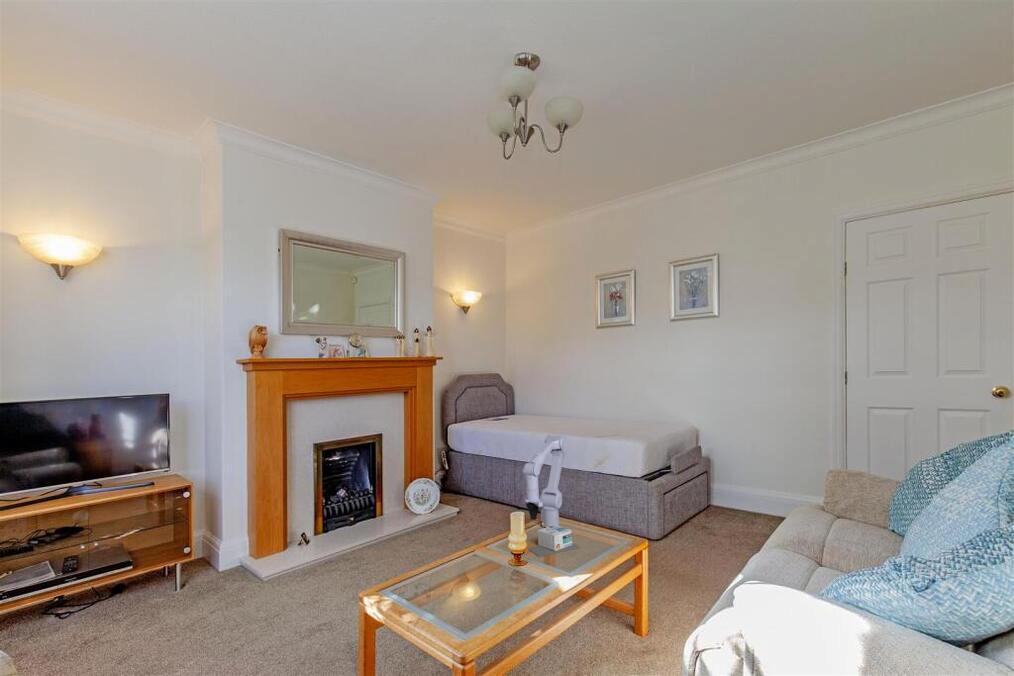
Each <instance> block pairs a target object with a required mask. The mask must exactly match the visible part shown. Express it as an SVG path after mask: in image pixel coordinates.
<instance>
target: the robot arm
mask: <svg viewBox="0 0 1014 676" xmlns="http://www.w3.org/2000/svg"><path fill="white" fill-rule="evenodd" d="M567 447H568V441H567V438H566V436H558V435H557V436H556V435H547V436H546V438H545V440H544V445H543V446H542V448H541V450H540V451H539V452H536V453H535V454H534V456H533V457H532V458H531V459H530V461H529V462H526V463H525V464H524V465H523V469H522V473H523V475H524V480H525V488H526V491H525V492H526V495H524V496H523V501H524V502H526V503H525V506H526V508H527V510H528V513H529V517H530V520H532V521H533V520H537V517H538V513H539V512H538V511H539V509H540V508H541V507H542V508H541V511H540V522H541V521H543V523H544V524H545V526H546V527H549V526H553V525H557V526H559V525H560V513H559V511H560V510H559V509H561V507H562V504H563V494H562V493H563V492H561V491H560V489H559V484H560V480H561V473H562V470H563V469H562V468H563V462H564V457H565V456H564V455H566V454H567V449H568V448H567ZM549 454H551V455H552V456H553V457H552V462H551V468H550V473H549V478H548V483H547V487H545V488H544V489H542V491H541V492H542V493H541V495H539V494H540V493H539V489H540V488H539V475H540V473H541V470H542V466H543V465H544V464H545V463H546V460H547V456H548V455H549Z"/></svg>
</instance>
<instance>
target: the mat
mask: <svg viewBox="0 0 1014 676" xmlns="http://www.w3.org/2000/svg"><path fill="white" fill-rule="evenodd" d="M527 548H528V549H529V551H530V552H532V553H533V554H535V555H536V556H537V557H539V558H541V557H545V556H549V555H553V554H554V555H555V554H559V553H562V552H568V551H571V550H572V551H573V550H575V549H581V547H580V546H579V545H577V544H576V543H574V542H572V545H571V546H569V547H566V548H563V549H560V550H557V551H554V550H551V549H548V548H546V547H543V546H540V545H537V546H536V545H535V546H531V547H527ZM528 549H527V550H528Z"/></svg>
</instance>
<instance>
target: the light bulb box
mask: <svg viewBox="0 0 1014 676" xmlns="http://www.w3.org/2000/svg"><path fill="white" fill-rule="evenodd" d="M572 532H573V531H572V529H569V528H566V527H564V526H563V527H560V526H557V525H553V526H549V527H546V528H544V527H543V528H540V529H538V530H537V538H538V539H537V541H538V545H537V546H543V547H546V548H548V549H551V550H554V551H557V550H560V549H563V548H566V547H569V546H571V545H572V543H573V538H572V537H573V534H572Z"/></svg>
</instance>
